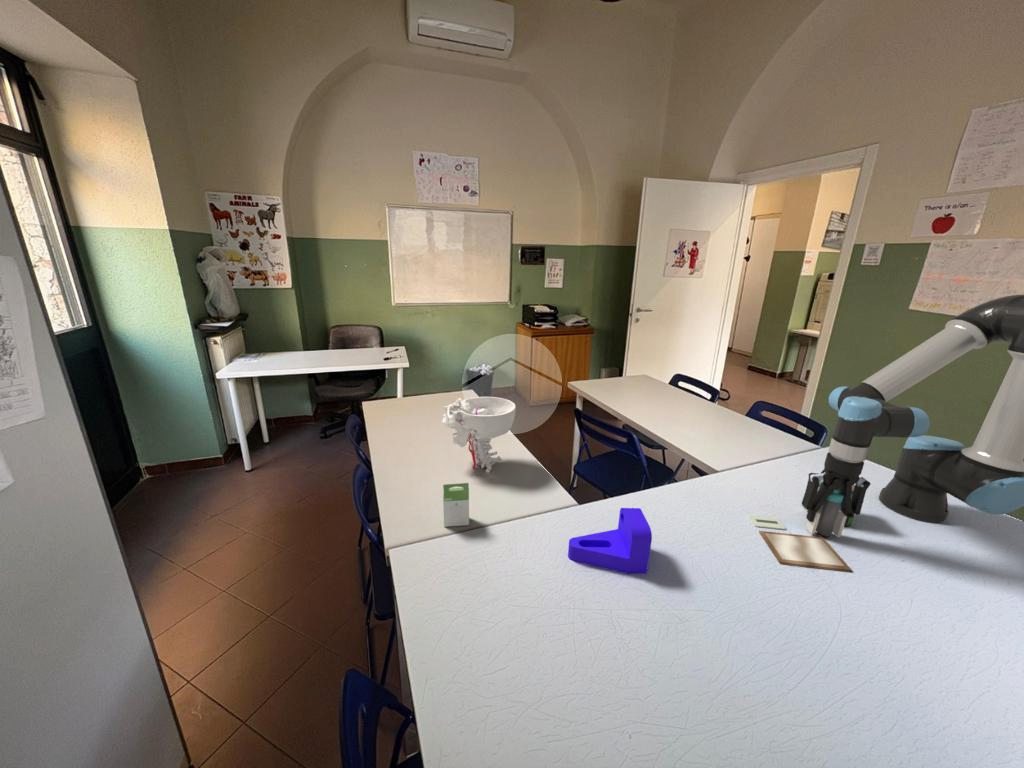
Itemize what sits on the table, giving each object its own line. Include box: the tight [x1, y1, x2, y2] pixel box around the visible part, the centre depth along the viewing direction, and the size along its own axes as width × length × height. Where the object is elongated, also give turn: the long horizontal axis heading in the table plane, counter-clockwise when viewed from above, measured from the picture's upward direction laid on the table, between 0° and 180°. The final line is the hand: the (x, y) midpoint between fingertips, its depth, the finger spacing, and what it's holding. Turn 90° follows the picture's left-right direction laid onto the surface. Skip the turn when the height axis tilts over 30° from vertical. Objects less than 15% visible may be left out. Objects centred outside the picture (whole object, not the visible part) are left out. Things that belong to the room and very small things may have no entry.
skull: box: [441, 396, 517, 473], centre depth 139 cm, size 25×19×23 cm
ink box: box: [442, 482, 470, 528], centre depth 111 cm, size 7×4×13 cm, turn 97°
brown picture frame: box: [758, 530, 853, 573], centre depth 104 cm, size 16×12×1 cm
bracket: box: [567, 507, 653, 575], centre depth 99 cm, size 18×11×12 cm, turn 90°
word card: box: [747, 514, 787, 531], centre depth 115 cm, size 8×5×1 cm, turn 81°
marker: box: [815, 490, 844, 539], centre depth 108 cm, size 4×4×13 cm
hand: (823, 532), depth 110 cm, fingers open, 6 cm apart
